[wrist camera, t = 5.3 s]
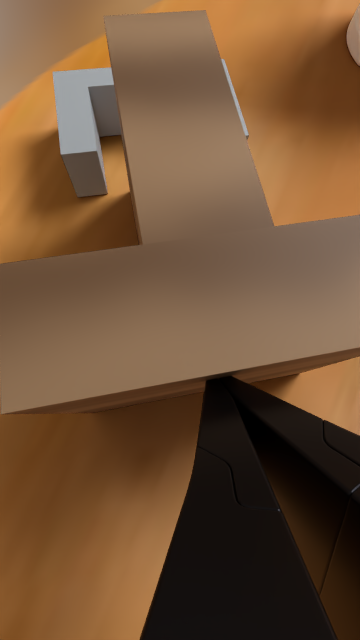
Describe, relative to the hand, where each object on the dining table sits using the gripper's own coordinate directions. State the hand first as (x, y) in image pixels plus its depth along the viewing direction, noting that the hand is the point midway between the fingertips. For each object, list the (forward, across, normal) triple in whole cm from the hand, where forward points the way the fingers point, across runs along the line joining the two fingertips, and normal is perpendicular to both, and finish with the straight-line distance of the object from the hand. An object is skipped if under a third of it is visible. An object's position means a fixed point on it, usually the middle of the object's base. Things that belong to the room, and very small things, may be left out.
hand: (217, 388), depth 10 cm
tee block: (+10, 0, 0) cm, 10 cm away
